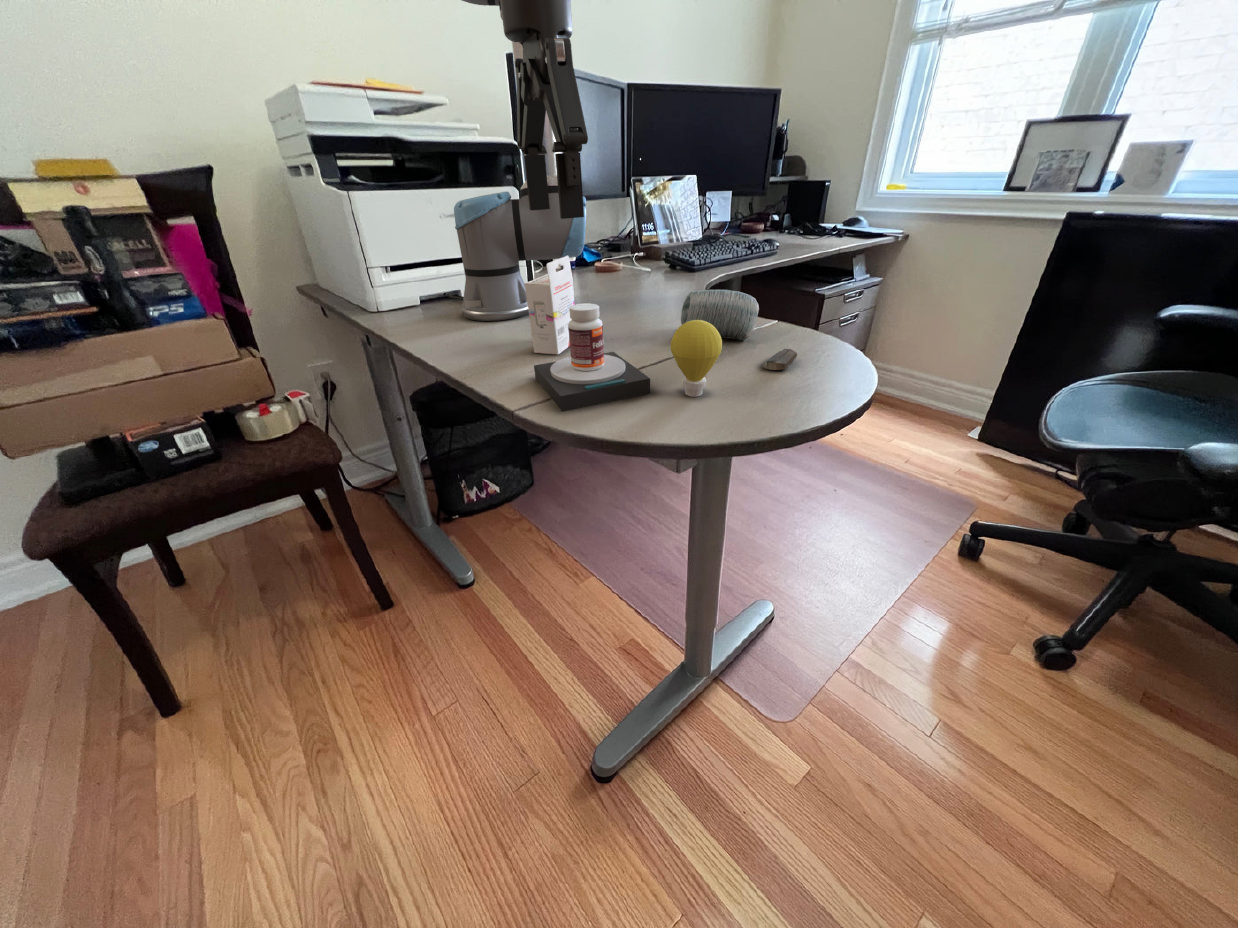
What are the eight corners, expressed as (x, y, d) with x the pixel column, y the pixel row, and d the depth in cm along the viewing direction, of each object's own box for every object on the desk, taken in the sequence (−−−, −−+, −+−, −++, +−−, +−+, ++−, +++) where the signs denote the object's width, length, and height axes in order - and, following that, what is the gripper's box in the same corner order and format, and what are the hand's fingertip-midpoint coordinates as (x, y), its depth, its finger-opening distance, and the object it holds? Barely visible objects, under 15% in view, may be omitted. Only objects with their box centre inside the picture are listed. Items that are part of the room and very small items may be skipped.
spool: (665, 322, 87) (690, 267, 84) (681, 333, 95) (704, 283, 93) (734, 351, 82) (762, 294, 80) (744, 360, 91) (770, 308, 88)
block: (797, 361, 77) (799, 350, 76) (783, 373, 73) (785, 361, 72) (774, 357, 79) (776, 346, 78) (760, 368, 75) (761, 357, 74)
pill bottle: (600, 372, 68) (597, 311, 64) (567, 371, 69) (562, 310, 65) (607, 361, 72) (605, 302, 68) (576, 359, 73) (572, 302, 69)
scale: (535, 379, 74) (533, 361, 73) (614, 364, 79) (613, 347, 77) (561, 411, 64) (559, 391, 63) (650, 393, 68) (650, 374, 67)
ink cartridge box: (554, 338, 92) (545, 254, 84) (578, 340, 90) (571, 254, 83) (532, 353, 85) (520, 262, 77) (558, 355, 83) (548, 263, 76)
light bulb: (660, 390, 69) (661, 319, 64) (698, 380, 72) (702, 311, 67) (688, 407, 64) (692, 331, 59) (728, 396, 67) (735, 322, 62)
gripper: (613, -45, 44) (620, 219, 55) (536, 20, 63) (553, 205, 75) (532, -54, 41) (557, 224, 53) (477, 16, 61) (504, 208, 72)
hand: (554, 213), depth 64 cm, fingers open, 13 cm apart
